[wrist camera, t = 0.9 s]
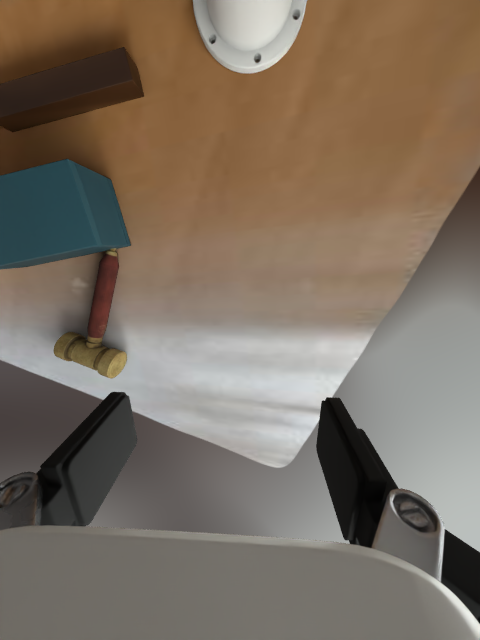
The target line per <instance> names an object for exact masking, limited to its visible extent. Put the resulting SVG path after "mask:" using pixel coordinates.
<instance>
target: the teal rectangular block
mask: <svg viewBox="0 0 480 640" xmlns="http://www.w3.org/2000/svg"><path fill="white" fill-rule="evenodd" d="M127 246H131V244H130V240H129V237H128V234H127V231H126V227H125V224H124V221H123V217H122V214H121V211H120V208H119V204H118V201H117V198H116V195H115V191H114V188H113V185H112V181H111V180H110V179H108V178H106V177H104V176H102V175H100V174H98V173H96V172H94V171H92V170H90V169H88V168H85V167H83V166H81V165H79V164H77V163H75V162H73V161H71V160H69V159H64V160H60V161H56V162H53V163H49V164H45V165H41V166H37V167H33V168H29V169H25V170H21V171H17V172H13V173H9V174H5V175H1V176H0V269H9V268H20V267H29V266H34V265H39V264H44V263H49V262H53V261H58V260H63V259H68V258H73V257H78V256H83V255H88V254H93V253H98V252H103V251H106V250H109V249H114V248H117V249H118V248H123V247H127Z"/></svg>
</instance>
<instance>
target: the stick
mask: <svg viewBox="0 0 480 640" xmlns="http://www.w3.org/2000/svg"><path fill="white" fill-rule="evenodd" d="M143 96H144V94H143V90H142V85H141V81H140V77H139V73H138V69H137V66H136V65H135V63H134V62H133V60H132V58H131V57H130V55H129V54H128V52H127V51H126V49H125V48H124V47H122V48H119V49H116V50H112V51H109V52H105V53H102V54H99V55H95V56H92V57H89V58H85V59H82V60H79V61H75V62H72V63H69V64H65V65H62V66H59V67H55V68H52V69H49V70H45V71H42V72H39V73H35V74H32V75H29V76H25V77H22V78H19V79H15V80H12V81H9V82H5V83H2V84H0V126H1V127H3V128H5V129H8V130H10V131H12V132H15V131H19V130H22V129H26V128H30V127H33V126H37V125H41V124H44V123H48V122H52V121H55V120H59V119H63V118H66V117H70V116H74V115H77V114H81V113H85V112H88V111H92V110H96V109H99V108H103V107H107V106H110V105H114V104H118V103H121V102H125V101H129V100H132V99H136V98H140V97H143Z"/></svg>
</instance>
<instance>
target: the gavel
mask: <svg viewBox="0 0 480 640" xmlns="http://www.w3.org/2000/svg"><path fill="white" fill-rule="evenodd" d="M116 249H117V248H114V249H109V250H106V253H105V255H104V256H103V258H102V259H101V261H100V264H99V270H98V275H97V280H96V286H95V291H94V297H93V302H92V307H91V313H90V318H89V323H88V337H87V340H86V338H85V337H84V336H82V335H79V334H77V333H74V332H68V333H66V334H64V335H62V336H61V337H60V338H59V339H58V340H57V342H56V344H55V346H54V354H55V356H56V357H59V358H61V359H64V360H66V361H74V362H77V363H79V364H81V365H84V366H86V367H89V368H91V369H94V370H98V373H99V374H101V375H103V376H106V377H108V378H114V377H116V376H117V375H118V374H119V373H120V372H121V371H122V370H123V368H124V366H125V364H126V360H127V355H126V353H125V352H123V351H120V350H118V349H115V348H112V349H109V348H107V347H105V346H102V339H103V335H104V333H105V331H106V327H107V322H108V317H109V312H110V307H111V302H112V297H113V292H114V288H115V283H116V278H117V273H118V268H119V264H118V258H117V255H118V254H117V253H116V252H115V250H116Z"/></svg>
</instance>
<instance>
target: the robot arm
mask: <svg viewBox="0 0 480 640" xmlns="http://www.w3.org/2000/svg"><path fill="white" fill-rule="evenodd" d="M306 2H307V0H193V7H194V14H195V18H196V22H197V26H198V29H199V32H200V35H201V38H202V40H203V42H204V44H205V46H206V48H207V49H208V51H209V52H210V53H211V55H212V56H213V57H214V58H215V59H216V60H217V61H218V62H219V63H220V64H221V65H223V66H224V67H226V68H228V69H230V70H232V71H235V72H239V73H256V72H260V71H263V70H265V69H267V68H269V67H271V66H272V65H274V64H275V63H276V62H278V61H279V60H280V59H281V58H282V57H283V56H284V55H285V54H286V53H287V51H288V50H289V48H290V47H291V45H292V44H293V42H294V41H295V39H296V36H297V34H298V32H299V30H300V27H301V24H302V20H303V17H304V13H305V7H306ZM213 43H214V44H213ZM256 62H258V63H256ZM136 443H137V436H136V431H135V425H134V420H133V415H132V409H131V404H130V399H129V396H127V395H126V394H125V393H124V392H111V393H110V394H109V395H108V396H107V397H106V398H105V399H104V400H103V401H102V402H101V404H100V405H99V406H98V407H97V408H96V409H95V410H94V411H93V412H92V413H91V414H90V415H89V416H88V417H87V418H86V419H85V420H84V421H83V422H82V423H81V424H80V425H79V426H78V428H77V429H76V430H75V431H74V432H73V433H72V434H71V435H70V436H69V437H68V438H67V439H66V440H65V441H64V442H63V443H62V444H61V445H60V446H59V447H58V448H57V449H56V450H55V451H54V453H52V455H51V456H50V457H49V458H48V459H47V460H46V461H45V462H44V463H43V464H42V465H41V466H40V467H41V469H40V470H39V471H38V472H37V473H36V474H35V473H33V472H24V473H20V474H17V475H14V476H12V477H10V478H8V479H6V480H5V481H3V482H1V483H0V640H480V552H478V551H477V550H475V549H474V548H472V547H471V546H469V545H468V544H466V543H465V542H463V541H462V540H460V539H459V538H457V537H456V536H454V535H453V534H451V533H450V532H448V531H447V530H445V529H444V524H443V521H442V519H441V517H440V515H439V513H438V512H437V511H436V510H435V508H434V507H433V506H432V505H431V504H430V503H429V502H428V501H427V500H425V499H424V498H422V497H421V496H419V495H418V494H416V493H414V492H412V491H409V490H405V489H398V487H397V485H396V484H395V482H394V480H393V479H392V477H391V475H390V473H389V472H388V470H387V469H386V467H385V465H384V464H383V462H382V460H381V458H380V457H379V455H378V453H377V452H376V450H375V449H374V447H373V445H372V444H371V442H370V440H369V438H368V437H367V435H366V434H365V432H364V431H363V430H362V429H357V427H356V425H355V424H354V422H353V420H352V419H351V417H350V415H349V413H348V411H347V410H346V408H345V406H344V404H343V403H342V401H341V399H340V398H326V400H325V401H322V404H321V412H320V420H319V428H318V437H317V445H316V447H317V453H318V457H319V460H320V464H321V467H322V470H323V473H324V476H325V480H326V483H327V486H328V489H329V493H330V496H331V499H332V502H333V505H334V509H335V512H336V515H337V518H338V522H339V524H340V528H341V531H342V534H343V537H344V539H345V540H349V542H350V544H346V543H338V542H328V541H317V540H305V539H294V538H278V537H263V536H248V535H231V534H215V533H199V532H198V533H197V532H180V531H164V530H146V529H125V528H107V527H86V525H89V524H90V523H91V521H92V520H93V518H94V516H95V515H96V513H97V511H98V510H99V508H100V506H101V504H102V503H103V501H104V499H105V498H106V496H107V494H108V492H109V491H110V489H111V487H112V486H113V484H114V482H115V480H116V478H117V477H118V475H119V473H120V472H121V470H122V468H123V466H124V465H125V463H126V462H127V460H128V458H129V456H130V455H131V453H132V451H133V449H134V448H135V446H136Z"/></svg>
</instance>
